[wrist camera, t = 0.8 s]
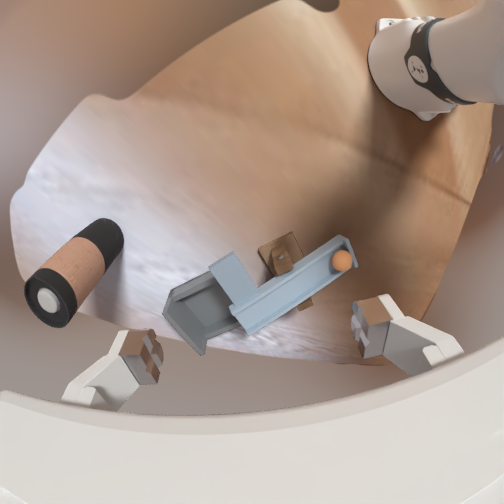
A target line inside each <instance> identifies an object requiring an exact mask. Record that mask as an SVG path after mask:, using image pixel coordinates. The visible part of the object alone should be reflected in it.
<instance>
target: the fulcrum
mask: <svg viewBox="0 0 504 504" xmlns="http://www.w3.org/2000/svg"><path fill="white" fill-rule="evenodd" d="M258 249H259V252H260V253H261V255H262V257H263V258H264V260H265V262H266V263H267V265H268V267H269V269H270V270H271V272H272V274H273V275H274V277H275V276H277V275H281V274H283V273H286V272H288V271H290V270H292V269H294V267H293V265H294V264H295V263H297V262H298V261H300V260H301V259H303V258H304V255H303V253H302V251H301V249H300V247H299V245H298V243H297V241H296V239H295V237H294V235H293V233H292V232H290V233H288V234H286V235H284V236H282V237H280V238H278V239H276V240H274V241H272V242H270V243H268V244H266V245H264V246H262V247H260V248H258ZM310 306H313V303H312V300H311V297H309V298H307V299H306V300H304V301H303V302H301V303H300V304H298V305H297V306H296V307H297V308H298V310H299V311H302V310H304V309H306V308H308V307H310Z"/></svg>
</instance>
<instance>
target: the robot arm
mask: <svg viewBox="0 0 504 504" xmlns="http://www.w3.org/2000/svg"><path fill="white" fill-rule="evenodd" d="M389 24H391V25H389ZM368 62H369V68H370V71H371V74H372V77H373V79H374V81H375V83H376V85H377V86H378V88H379V89H380V90H381V92H382V93H383V94H384V95H385V96H386V97H387V98H388V99H389V100H390V101H392V102H393V103H395V104H396V105H398V106H400V107H402V108H405V109H408V110H410V111H412V112H414V113H415V114H416V115H417V116H418V117H419V118H420V119H421V120H423V121H429V120H431V119H432V118H434V117H435V116H436V115H438V114H439V113H448V112H451V109H453V108H454V107H456V106H457V105H469V104H475V103H477V102H483V103H492V104H501V105H504V0H479V2H478V3H477V4H476V5H475V6H474V7H473V8H471V9H470V10H467V11H465V12H463V13H461V14H458V15H456V16H453V17H450V18H447V19H445V18H438V19H435V18H434V17H431V16H430V17H424V18H423V21H422V20H421V18H420V17H414V18H413V20H412V19H410V18H408V19H386V18H384V19H380V20H378V21H377V25H376V36H375V38H374V39H373V41H372V43H371V45H370V48H369V53H368ZM352 311H353V313H354V315H353V316H352V318H351V330H352V334H353V337H354V339H355V340H356V341H358V342H359V345H358V348H359V350H360V352H361V355H362V357H363V359H365V358H370V357H374V356H378V355H382V354H383V356H384V357H385V358H387V359H388V360H390V361H391V362H392V363H394V364H395V365H397V366H398V367H399V368H401V369H402V370H404V371H405V372H406V373H408V374H409V375H411V376H412V377H411V378H407V379H404V380H401V381H398V382H395V383H392V384H389V385H386V386H382V387H379V388H376V389H373V390H368V391H365V392H361V393H357V394H353V395H349V396H345V397H341V398H336V399H332V400H327V401H322V402H317V403H312V404H307V405H301V406H295V407H288V408H281V409H274V410H266V411H257V412H247V413H234V414H217V415H153V414H136V413H123V412H117V411H118V410H119V408H120V407H121V406H122V405H123V404H124V403H125V402H126V401H127V399H128V398H129V397H130V396H131V395H132V394H133V393H134V391H135V390H136V389H137V388H138V387H139V385H147V384H157V383H158V379H159V375H160V371H159V369H158V368H159V367H160V366H161V365H162V363H163V350H162V346H161V345H160V343H159V342H157V341H156V340H155V338H156V334H155V332H154V330H153V329H131V330H120V331H119V332H118V334H117V336H116V338H115V340H114V342H113V344H112V346H111V349H110V351H109V353H108V355H105V356H103V357H102V358H101V359H99V360H98V361H97V362H96V363H94V364H93V365H92V366H90V367H89V368H88V369H87V370H85V371H84V372H83V373H81V374H80V375H79V376H78V377H76V378H75V379H74V380H73V381H71V382H70V383H69V384H68V386H67V388H66V390H65V393H64V395H63V397H62V399H61V401H60V403H58V402H53V401H49V400H44V399H40V398H36V397H32V396H28V395H25V394H21V393H18V392H15V391H12V390H3V391H2V392H0V504H504V336H502V337H500V338H498V339H496V340H495V341H493V342H491V343H489V344H487V345H485V346H483V347H481V348H479V349H477V350H475V351H473V352H471V353H469V354H467V355H466V354H465V352H464V351H463V350H462V348H461V347H460V345H459V344H458V343H457V341H456V340H455V339H454V337H453V336H451V335H449V334H447V333H444V332H442V331H440V330H437V329H436V328H433V327H431V326H429V325H427V324H424V323H422V322H420V321H418V320H416V319H413V318H411V317H409V316H407V317H405V316H404V315H403V313H402V312H401V311H400V309H399V308H398V306H397V305H396V304H395V302H394V301H393V300H392V298H391V297H390V295H389V294H383V295H379V296H376V297H372V298H367V299H363V300H358V301H354V302H353V304H352Z"/></svg>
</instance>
